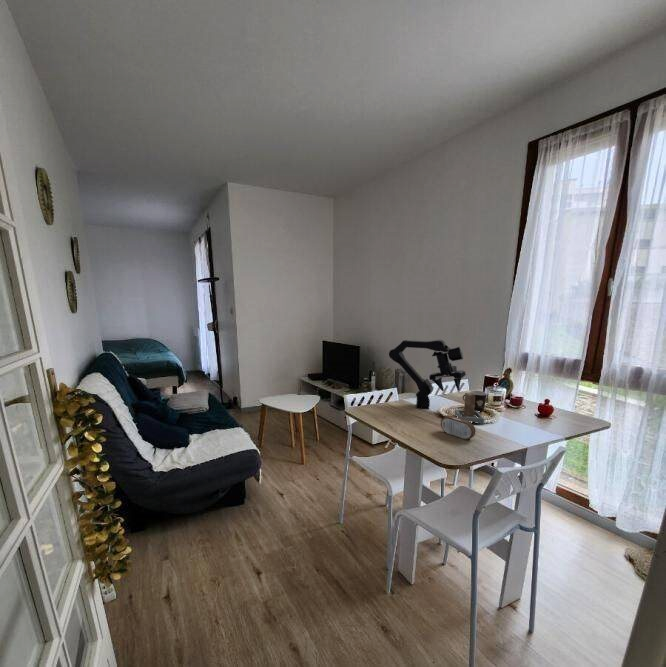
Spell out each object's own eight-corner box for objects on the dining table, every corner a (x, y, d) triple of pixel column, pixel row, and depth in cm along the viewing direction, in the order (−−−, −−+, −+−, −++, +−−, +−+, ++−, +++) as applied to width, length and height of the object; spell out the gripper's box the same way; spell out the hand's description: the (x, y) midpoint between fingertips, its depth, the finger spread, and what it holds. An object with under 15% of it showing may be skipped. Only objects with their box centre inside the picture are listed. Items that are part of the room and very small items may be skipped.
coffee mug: (486, 409, 177) (487, 392, 176) (484, 414, 170) (485, 396, 169) (464, 405, 183) (465, 388, 182) (461, 410, 176) (462, 392, 175)
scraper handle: (466, 420, 159) (468, 395, 158) (461, 416, 164) (463, 392, 163) (476, 420, 160) (477, 394, 159) (470, 416, 165) (472, 392, 164)
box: (460, 423, 158) (460, 417, 157) (455, 415, 168) (455, 409, 168) (483, 424, 156) (484, 418, 156) (476, 416, 167) (477, 410, 167)
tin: (475, 440, 138) (476, 422, 137) (472, 443, 136) (473, 424, 135) (442, 430, 149) (443, 412, 148) (439, 432, 147) (440, 414, 146)
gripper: (466, 357, 171) (473, 385, 171) (436, 361, 185) (442, 387, 185) (456, 362, 164) (464, 391, 163) (425, 365, 177) (432, 392, 177)
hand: (450, 390), depth 172 cm, fingers open, 9 cm apart
